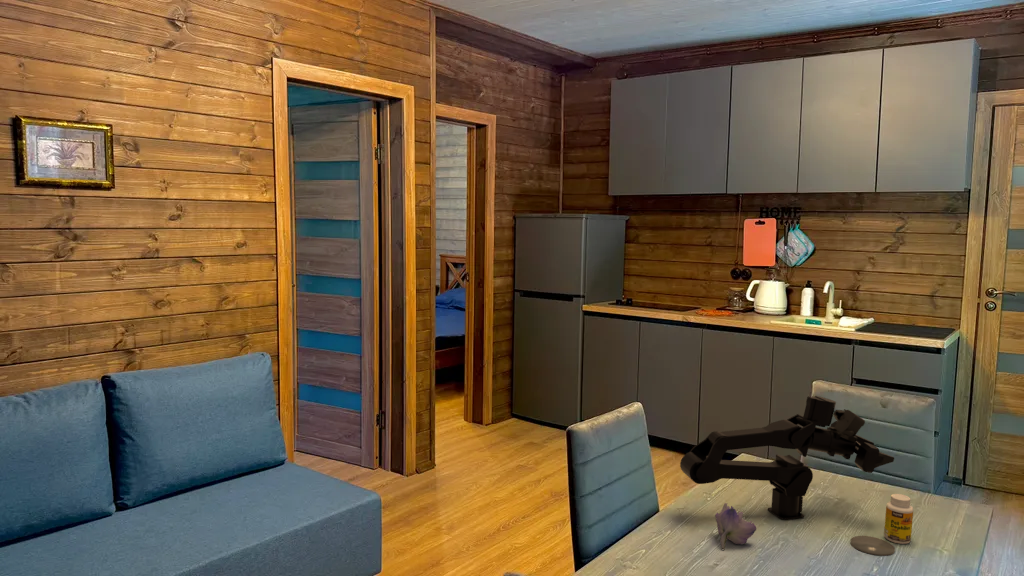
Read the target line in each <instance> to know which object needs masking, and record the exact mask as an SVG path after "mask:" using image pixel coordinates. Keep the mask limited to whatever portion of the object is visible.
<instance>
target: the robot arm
mask: <svg viewBox="0 0 1024 576" xmlns="http://www.w3.org/2000/svg"><path fill="white" fill-rule="evenodd" d="M836 404H837V401H835V400H832V399H830V398H826V397H822V396H818V395H815V396H814V395H813V396H807V397H806V402H805V408H804V412H803V415H801V414H799V413H798V414H797V413H796V414H794V415H793V416H791V417H790V418H787V419H781V420H776V421H773V422H770V423H769V424H767V425H766V426H763V427H756V428H755V427H754V428H746V429H736V430H725V431H718V430H717V431H715V430H714V431H711V432H710V433H709V434H708V435H707V436H706V438H705V439H703V440H701V441H700V442H699V443H697V444H695V445H694V446H693V447H692V448H691V449H690V450H689V452H686V453H685V455H683V457H682V458H681V459H680V463H679V464H680V465H679V467H680V470H681V471H682V472H683V473H684V475H686V476H687V477H688V478H689V479H690V480H692V481H693V482H694V483H695V484H698V485H705V484H712V483H713V484H714V483H715V482H718V481H719V480H725V479H727V480H730V479H731V480H747V481H763V482H764V481H766V482H769V484H770V485H771V486H773V487H774V488H773V487H772V489H771V490H772V491H771V493H772V494H771V506H770V507H767V511H769V512H770V513H772V514H773V515H775V517H777V518H778V519H780V520H795V519H804V518H805V517H806V515H805V514H803V513H802V512H803V503H804V497H805V496H806V495H807V492H808V489H809V487H810V485H811V483H812V482H813V477H814V473H813V471H812V469H811V468H810V467H809V466H807V465H805V464H804V462H802V461H800V460H799V459H798V458H795V457H794V456H793V455H790V454H787V455H781V454H775V460H773V461H770V462H767V461H749V460H748V461H747V460H733V459H731V460H729V459H723V457H724V455H725V454H726V452H727V451H733V450H741V449H743V450H744V449H750V448H761V447H777V448H781V449H787V450H789V449H790V450H796V452H797V454H799V455H801V456H803V457H804V458H807V455H808V452H809V450H811V451H815V452H821V453H826V454H827V455H828V456H829V457H835V455H836V456H840V457H841V456H842V457H843V458H844V459H845V460H850V459H851V456H853V454H856V455H855V458H854V464H855V466H857V468H859V469H860V470H861V471H862V472H864V473H869V474H873V473H874V470H875V469H876V468H879V467H881V466H884V465H888V464H890V463H894V461H895V457H894V456H893V455H892V456H891V455H889V454H887V453H884V452H881V451H880V449H879V448H878V447H877V446H876V445H875V443H874V441H871V440H868V439H867V438H864V437H862V436H860V435H858V433H859V431H860V430H861V428H862V427H864V425H865V424H866V420H864V419H863V418H862V417H860V416H859V415H857V414H855V413H854V412H853V411H851V410H850V409H845V408H844V409H842V410H841V409H835V408H836ZM833 417H834V419H835V421H833V422H832V420H833Z"/></svg>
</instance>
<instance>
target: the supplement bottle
mask: <svg viewBox="0 0 1024 576" xmlns="http://www.w3.org/2000/svg"><path fill="white" fill-rule="evenodd" d="M890 495H891V496H890V501H888V502H887V503H886V505H885V506H886V507H885V518H884V530H883V536H884V538H885V539H886V541H890V543H891V542H892V543H894V544H899V545H900V544H901V545H906V544H909V543H910V542H911V541H912V532H913V531H912V530H913V517H914V507H913V506H912V505H911V498H910V497H909V496H907V495H905V494H901V493H893V494H890Z"/></svg>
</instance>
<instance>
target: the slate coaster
mask: <svg viewBox="0 0 1024 576" xmlns="http://www.w3.org/2000/svg"><path fill="white" fill-rule="evenodd" d="M849 542H850V543H849V544H850V545H851V546H852V547H853V548H854V549H856V550H858V551H859V552H862V553H865V554H867V555H872V556H877V557H882V556H884V557H887V556H891V555H893V554H895V552H896V551H895V550H896V548H895V546H894V545H893V544H892V543H891V542H888V540H884V539H882V538H879V537H874V536H871V535H870V536H869V535H856V536H853V537H851V538H850V541H849Z"/></svg>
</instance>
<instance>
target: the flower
mask: <svg viewBox="0 0 1024 576" xmlns="http://www.w3.org/2000/svg"><path fill="white" fill-rule="evenodd" d="M743 515H744V512H743V511H739V512H737V510H736V509H735V508H734V507H733V505H731V506H729V505H728V502H724V504H723V506H722V509H721V511H720V512H719V513H718V512H716V513H715V515H714V517H715V521H716V525H717V530H718V532H717V533H718V535H719V536H720V545H721V550H722V549H724V550H723V551H726V550H725V549H726V544H727V540H728V541H731V542H733V544H736V545H739V544H741V545H746V544H747V542H748V539H749V538H751V537H753V535H754V533H756V531H757V526H756V525H755V523H754V522H753V521H752V520H750V521H747V520H745V519H744V518H743ZM745 543H746V544H745Z"/></svg>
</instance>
